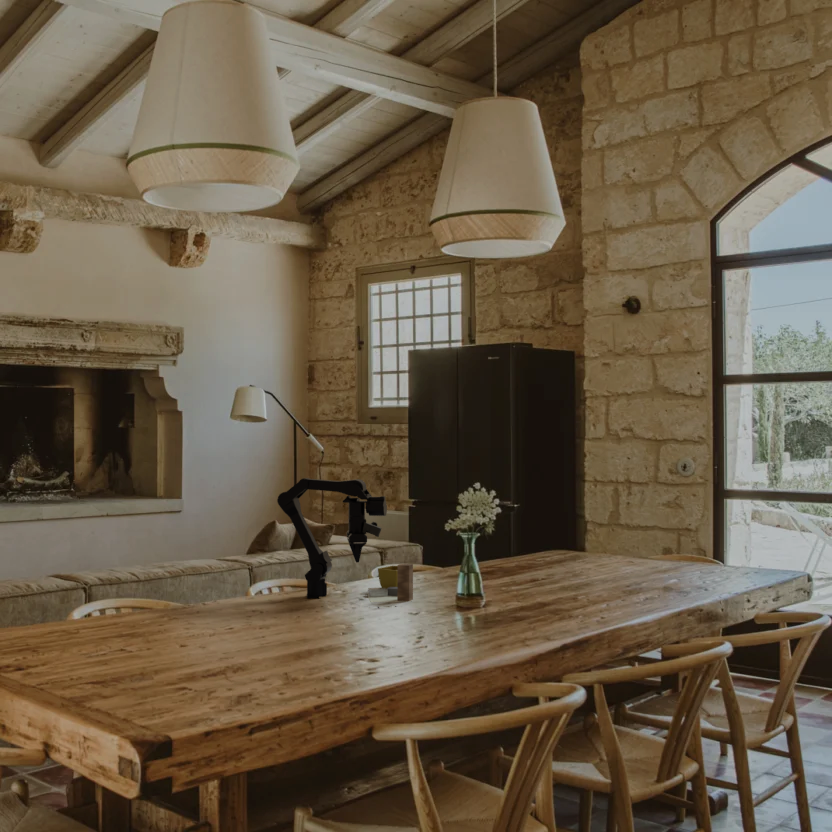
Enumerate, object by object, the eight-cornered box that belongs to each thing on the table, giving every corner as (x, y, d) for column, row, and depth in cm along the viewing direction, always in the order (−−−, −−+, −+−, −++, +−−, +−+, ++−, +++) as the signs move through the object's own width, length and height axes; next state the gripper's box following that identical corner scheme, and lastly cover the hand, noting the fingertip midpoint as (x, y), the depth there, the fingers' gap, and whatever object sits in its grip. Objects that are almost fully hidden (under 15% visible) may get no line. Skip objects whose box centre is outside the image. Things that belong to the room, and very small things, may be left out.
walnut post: (397, 600, 340) (397, 565, 340) (401, 598, 344) (401, 563, 344) (409, 601, 339) (409, 565, 339) (412, 599, 343) (412, 564, 343)
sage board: (370, 603, 337) (370, 602, 337) (367, 596, 353) (367, 594, 353) (411, 603, 339) (411, 601, 339) (407, 595, 354) (407, 593, 354)
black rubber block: (386, 595, 350) (386, 588, 350) (389, 593, 354) (389, 586, 354) (400, 596, 349) (400, 589, 349) (403, 594, 353) (403, 587, 353)
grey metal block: (370, 597, 347) (370, 589, 347) (368, 595, 351) (368, 588, 351) (387, 596, 349) (387, 589, 349) (384, 594, 353) (384, 587, 353)
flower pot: (396, 595, 354) (396, 570, 354) (377, 593, 359) (377, 568, 359) (411, 592, 361) (411, 567, 361) (392, 590, 366) (392, 565, 366)
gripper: (381, 517, 340) (381, 563, 340) (378, 513, 359) (378, 556, 359) (349, 518, 339) (349, 564, 339) (346, 513, 358) (346, 557, 358)
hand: (356, 560), depth 349 cm, fingers open, 9 cm apart
